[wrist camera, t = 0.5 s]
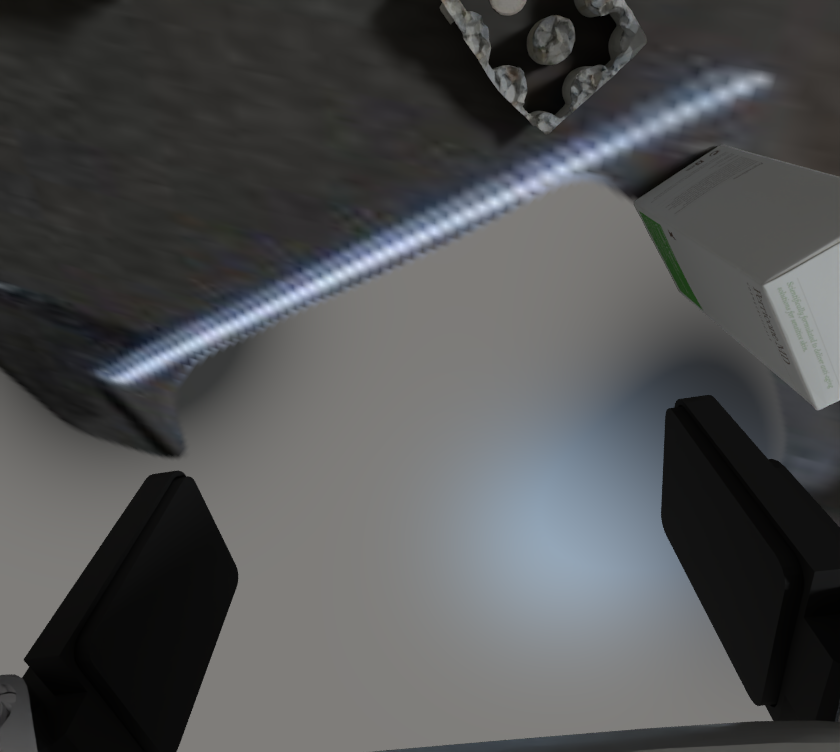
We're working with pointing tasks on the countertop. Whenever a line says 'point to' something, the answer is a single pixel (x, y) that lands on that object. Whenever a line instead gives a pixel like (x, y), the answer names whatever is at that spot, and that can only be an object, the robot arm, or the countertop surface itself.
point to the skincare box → (758, 259)
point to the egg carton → (551, 51)
